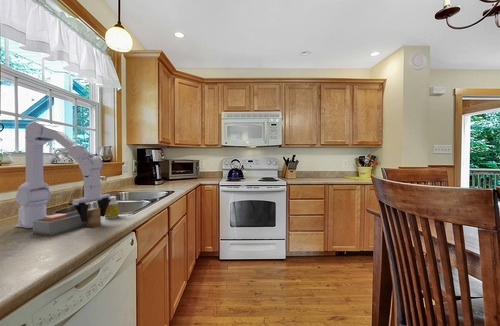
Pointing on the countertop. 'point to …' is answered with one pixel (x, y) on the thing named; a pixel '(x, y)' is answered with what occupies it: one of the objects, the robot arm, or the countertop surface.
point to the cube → (55, 217)
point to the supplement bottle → (112, 209)
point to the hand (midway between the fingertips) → (93, 218)
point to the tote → (58, 225)
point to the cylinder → (93, 217)
